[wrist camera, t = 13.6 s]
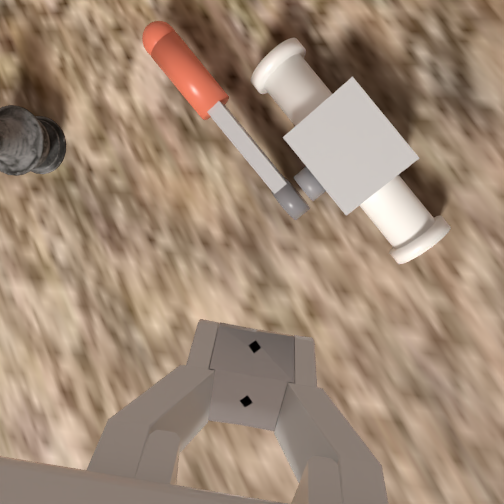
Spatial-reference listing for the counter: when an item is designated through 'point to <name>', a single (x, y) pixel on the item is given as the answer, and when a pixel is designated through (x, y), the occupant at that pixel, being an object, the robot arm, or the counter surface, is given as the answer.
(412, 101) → the counter surface
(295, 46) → the valve
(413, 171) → the counter surface
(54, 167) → the grey chess pawn
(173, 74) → the lever
